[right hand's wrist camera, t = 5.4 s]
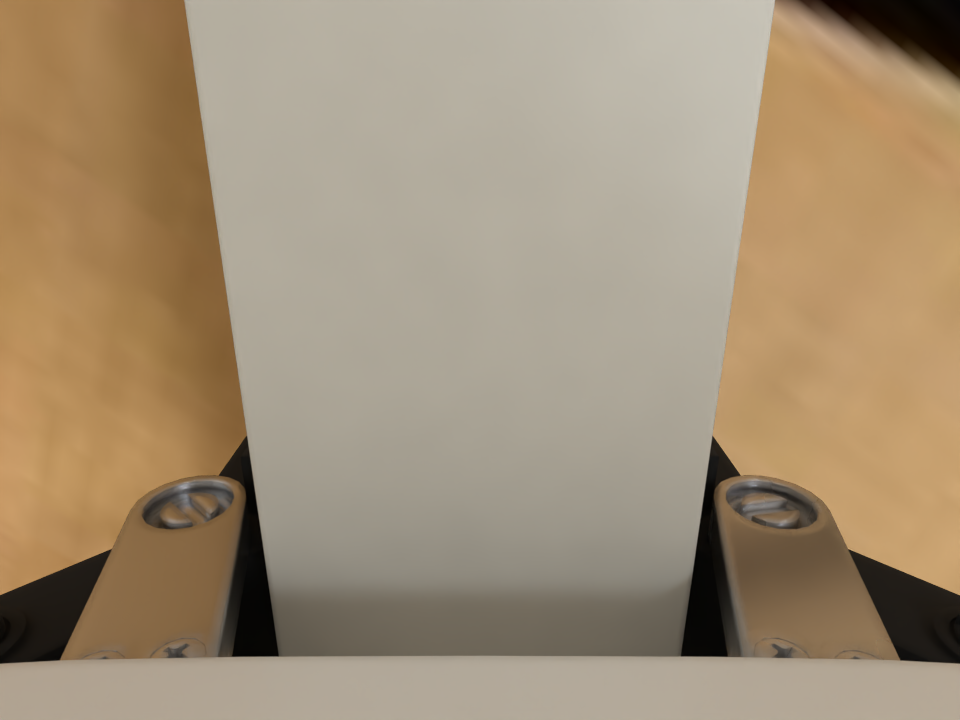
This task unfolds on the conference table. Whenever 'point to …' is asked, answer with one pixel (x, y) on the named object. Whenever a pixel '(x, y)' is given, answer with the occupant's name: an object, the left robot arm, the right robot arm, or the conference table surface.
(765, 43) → the bar
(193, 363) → the conference table surface
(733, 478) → the right robot arm
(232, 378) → the conference table surface
